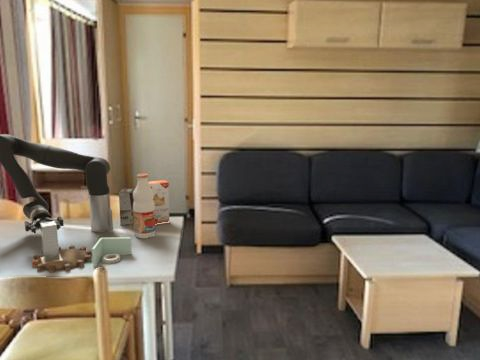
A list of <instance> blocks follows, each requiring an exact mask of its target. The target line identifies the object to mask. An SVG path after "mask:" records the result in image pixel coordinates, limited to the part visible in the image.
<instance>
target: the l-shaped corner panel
mask: <svg viewBox="0 0 480 360" xmlns="http://www.w3.org/2000/svg"><path fill="white" fill-rule="evenodd" d="M91 251H92V256H91V257H92V265H93V267H97V265H98V264H99V262H100V260H102V263H104V264H108V265H113V264H115V263H118V262H120V260H121V256H128V255H127V254H131V255H132V237H130V236H128V237H127V236H126V237H100V238H99V239H98V240H97V242H96V243H95V244H94V245H93V247H92V248H91Z"/></svg>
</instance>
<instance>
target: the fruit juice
mask: <svg viewBox="0 0 480 360" xmlns="http://www.w3.org/2000/svg"><path fill="white" fill-rule="evenodd" d="M149 177H150V175H149V174H148V173H138V174H137V175H136V178H137V182H136V186H135V190H134V191H133V198H134V204H133V215H134V224H133V230H134V231H133V233H134V237H135V238H137V237H139V238H138V239H147V238H146V237H150V238H152V237H151V236H153V235H155V236H156V233H157V230H156V225H155V205H154V202H153V197H154V192H153V190H152V188H151V187H150V185H149V182H150V181H149ZM153 237H154V236H153Z"/></svg>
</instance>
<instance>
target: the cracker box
mask: <svg viewBox="0 0 480 360" xmlns="http://www.w3.org/2000/svg"><path fill="white" fill-rule="evenodd" d="M148 182H149V185H150V187H151V188H152V190H153V192H154V197H153V202H154V205H155V224H157V223H162V222H168V221H169V222H170V186H169V184H170V183H169V181H167V180H165V179H162V180H152V181H148Z"/></svg>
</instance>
